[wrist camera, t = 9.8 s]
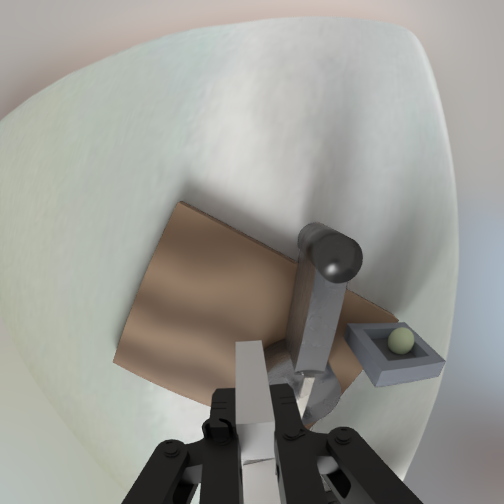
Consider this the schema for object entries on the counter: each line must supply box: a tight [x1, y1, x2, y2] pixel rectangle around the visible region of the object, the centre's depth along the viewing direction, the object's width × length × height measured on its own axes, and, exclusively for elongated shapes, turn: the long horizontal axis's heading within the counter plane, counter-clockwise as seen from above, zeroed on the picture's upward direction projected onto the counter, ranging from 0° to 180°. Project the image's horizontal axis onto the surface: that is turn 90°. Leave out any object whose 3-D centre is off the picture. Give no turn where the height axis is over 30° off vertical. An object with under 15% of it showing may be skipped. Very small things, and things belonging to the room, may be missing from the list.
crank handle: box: [263, 223, 363, 425], centre depth 21 cm, size 18×7×6 cm, turn 174°
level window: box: [343, 322, 446, 387], centre depth 21 cm, size 3×7×8 cm, turn 84°
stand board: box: [113, 201, 399, 429], centre depth 26 cm, size 18×24×2 cm
